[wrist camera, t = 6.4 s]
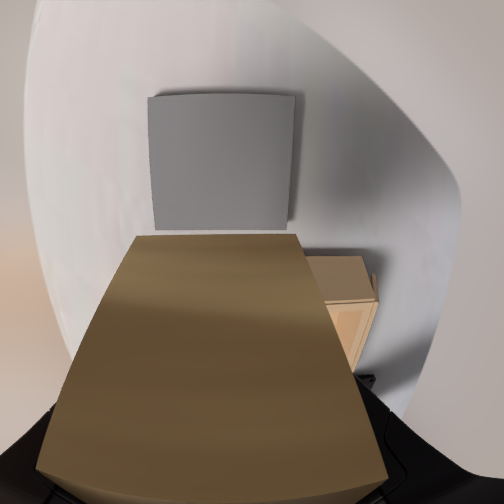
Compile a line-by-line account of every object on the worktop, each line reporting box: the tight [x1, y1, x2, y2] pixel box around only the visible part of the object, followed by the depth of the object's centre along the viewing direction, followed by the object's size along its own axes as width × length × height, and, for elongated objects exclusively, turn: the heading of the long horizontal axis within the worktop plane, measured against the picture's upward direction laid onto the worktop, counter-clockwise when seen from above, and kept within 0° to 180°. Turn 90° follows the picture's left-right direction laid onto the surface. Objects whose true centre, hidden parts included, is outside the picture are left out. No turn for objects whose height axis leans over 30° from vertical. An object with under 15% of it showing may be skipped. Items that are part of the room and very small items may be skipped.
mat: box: [148, 93, 295, 230], centre depth 17 cm, size 8×8×1 cm
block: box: [36, 234, 388, 504], centre depth 7 cm, size 8×4×6 cm, turn 179°
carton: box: [305, 256, 379, 373], centre depth 22 cm, size 14×18×4 cm
